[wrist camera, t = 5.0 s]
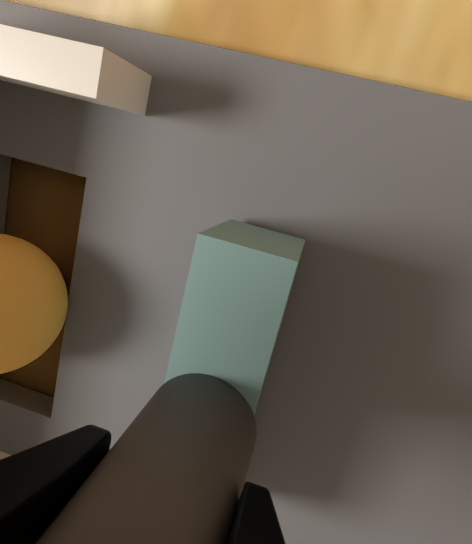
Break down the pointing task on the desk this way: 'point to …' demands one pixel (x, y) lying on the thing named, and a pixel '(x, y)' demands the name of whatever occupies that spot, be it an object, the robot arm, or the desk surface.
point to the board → (307, 283)
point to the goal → (71, 72)
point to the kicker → (194, 404)
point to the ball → (28, 302)
